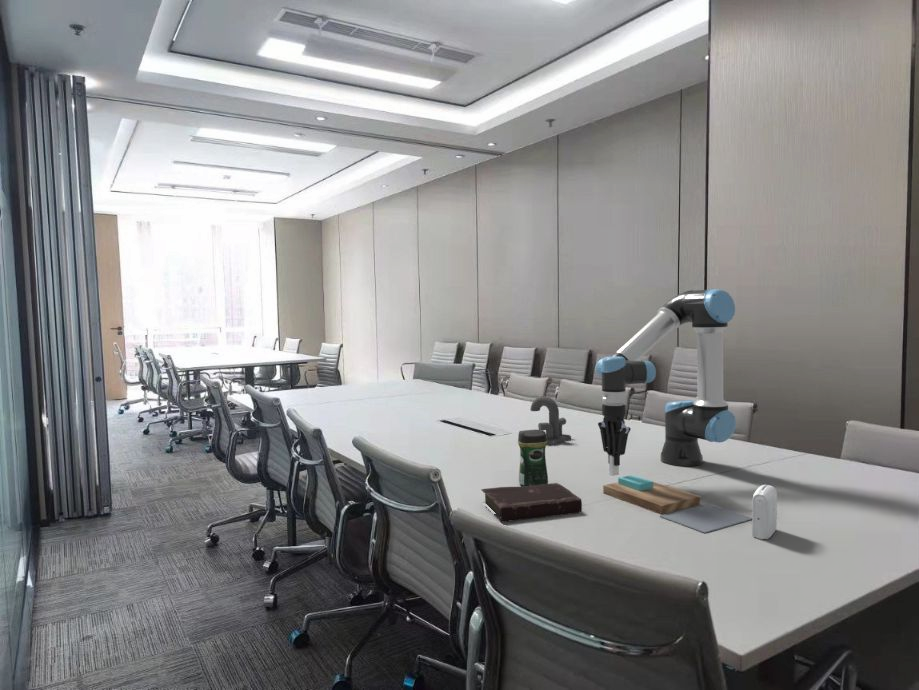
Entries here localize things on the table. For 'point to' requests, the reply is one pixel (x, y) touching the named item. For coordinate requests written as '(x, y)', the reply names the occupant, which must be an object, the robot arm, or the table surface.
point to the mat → (706, 518)
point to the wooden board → (654, 497)
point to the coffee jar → (532, 457)
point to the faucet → (551, 420)
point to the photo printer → (764, 512)
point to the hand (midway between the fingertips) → (614, 474)
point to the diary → (531, 501)
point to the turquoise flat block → (635, 482)
